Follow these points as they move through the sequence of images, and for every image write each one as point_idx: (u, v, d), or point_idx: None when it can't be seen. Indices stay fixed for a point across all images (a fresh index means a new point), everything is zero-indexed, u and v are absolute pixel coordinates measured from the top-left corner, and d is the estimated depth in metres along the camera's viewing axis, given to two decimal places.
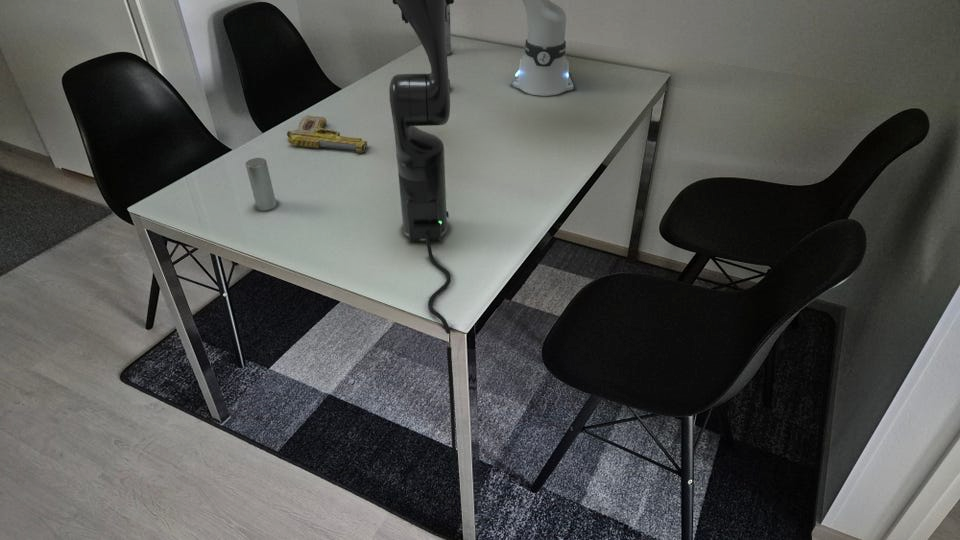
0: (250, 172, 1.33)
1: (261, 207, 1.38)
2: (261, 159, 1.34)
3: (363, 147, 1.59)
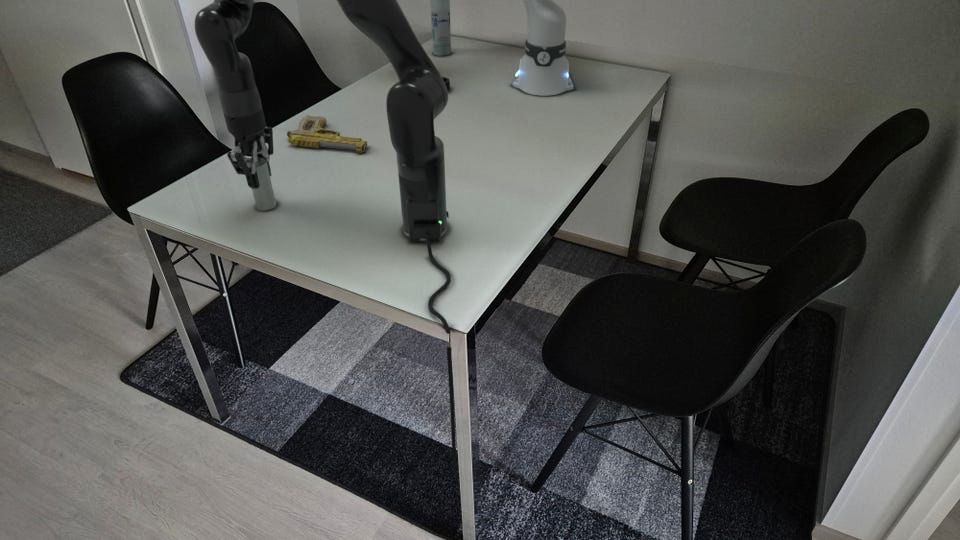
0: None
1: (261, 207, 1.38)
2: (261, 159, 1.34)
3: (363, 147, 1.59)
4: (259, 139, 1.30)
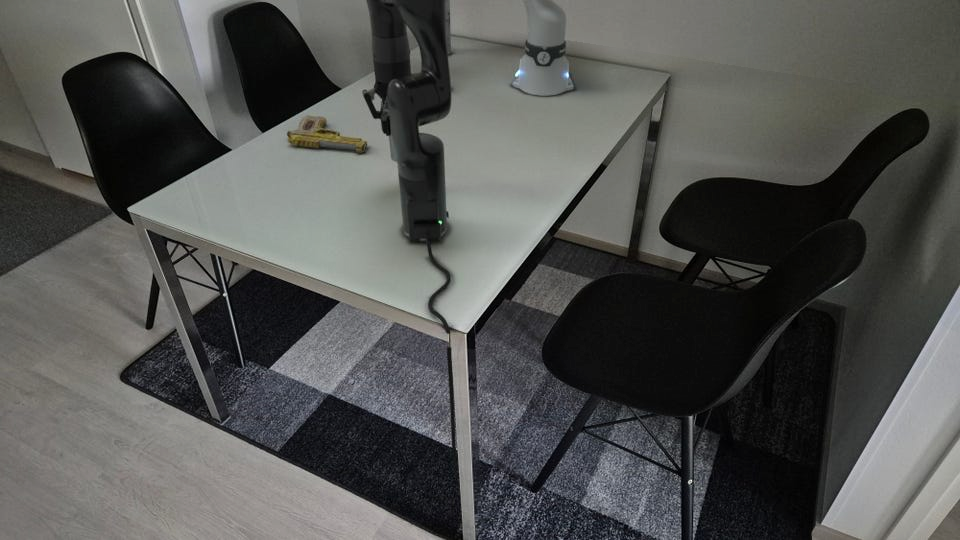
0: (387, 118, 1.36)
1: (391, 155, 1.41)
2: None
3: (363, 147, 1.59)
4: None
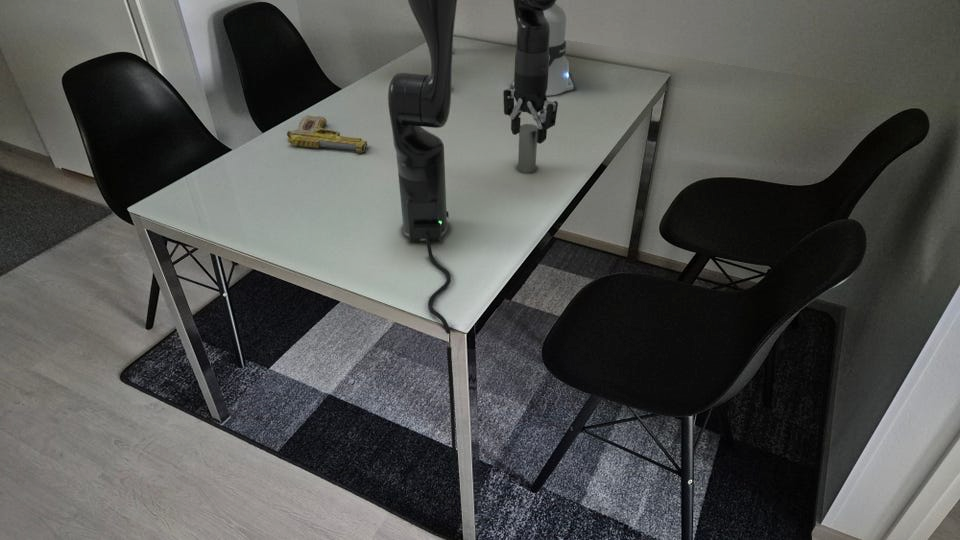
0: None
1: None
2: (532, 130, 1.46)
3: (363, 147, 1.59)
4: None
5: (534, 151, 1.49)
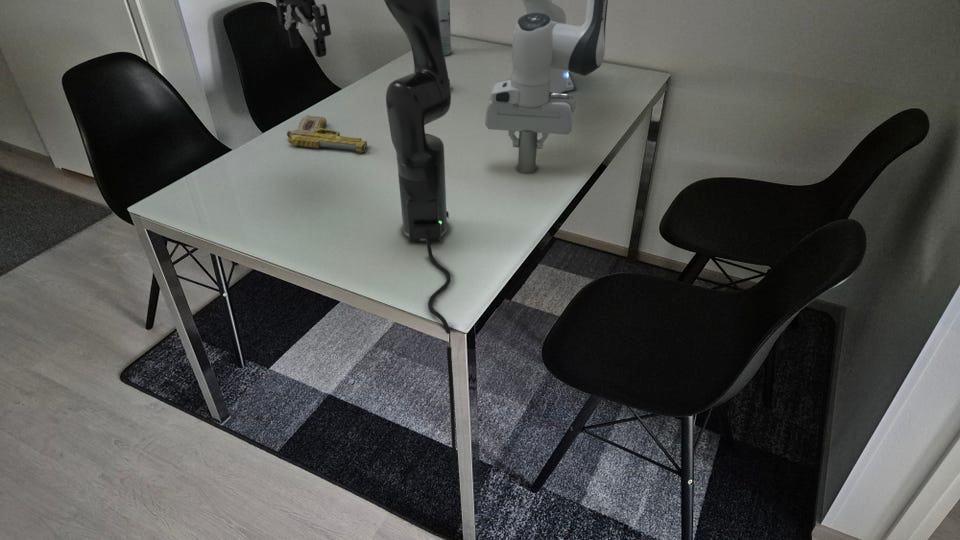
0: None
1: None
2: None
3: (363, 147, 1.59)
4: None
5: (534, 151, 1.49)
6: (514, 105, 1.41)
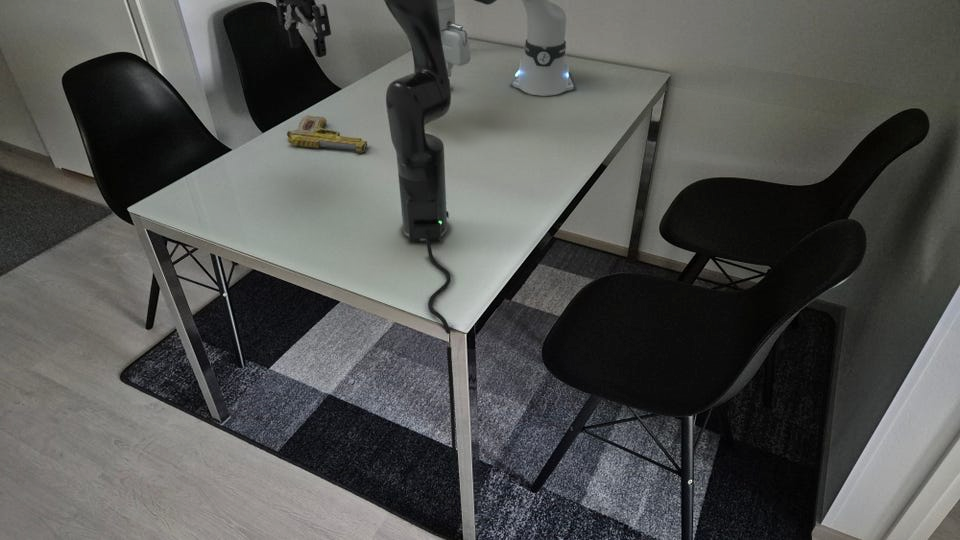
0: None
1: None
2: None
3: (363, 147, 1.59)
4: None
5: None
6: None
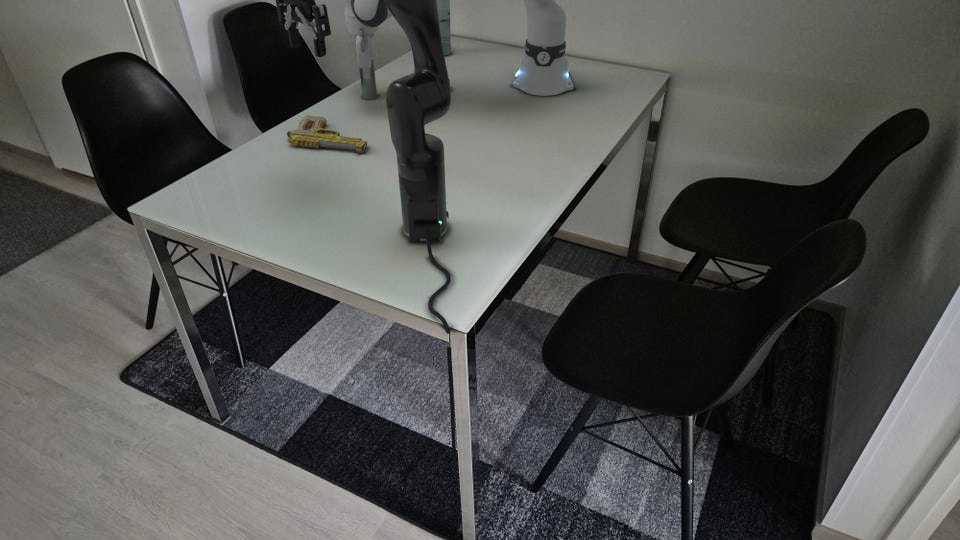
0: None
1: None
2: None
3: (363, 147, 1.59)
4: None
5: (363, 81, 1.84)
6: None
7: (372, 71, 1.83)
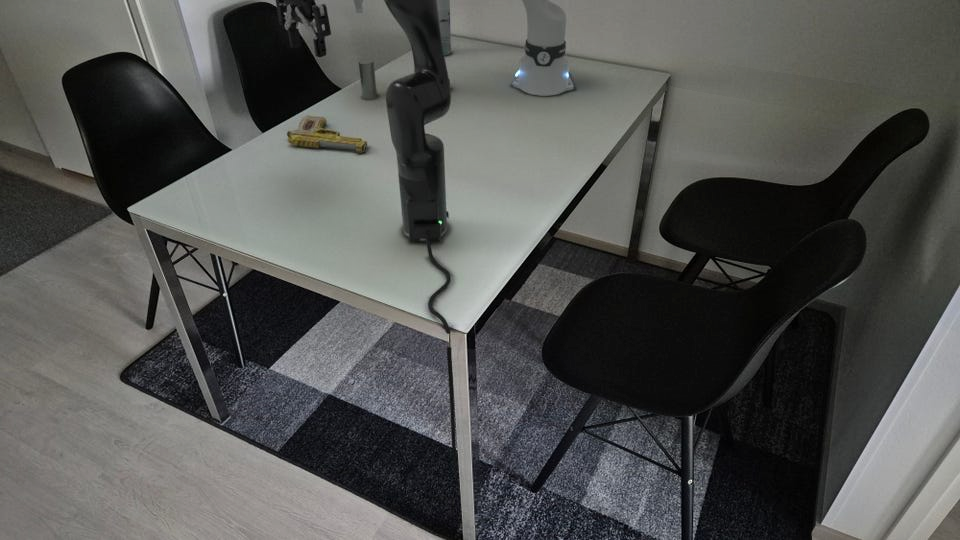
0: None
1: None
2: (361, 62, 1.81)
3: (363, 147, 1.59)
4: None
5: (363, 81, 1.84)
6: None
7: (372, 71, 1.83)
